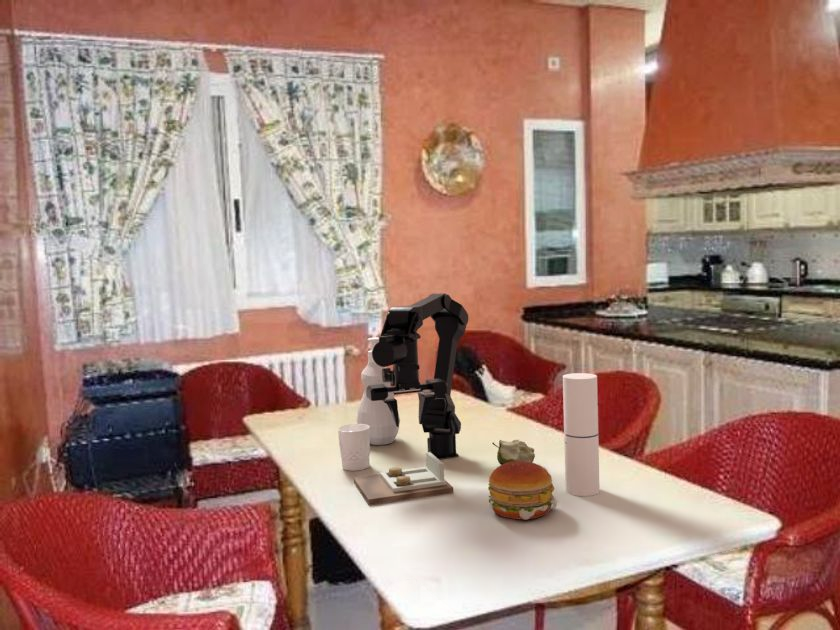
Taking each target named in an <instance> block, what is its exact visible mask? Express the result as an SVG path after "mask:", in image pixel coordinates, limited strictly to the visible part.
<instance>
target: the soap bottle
mask: <svg viewBox="0 0 840 630" xmlns="http://www.w3.org/2000/svg"><path fill="white" fill-rule="evenodd" d="M367 341H368V342H369V344H370V350H368V351H367V365H366V366H365V367H364V369H362V372H361V374H360V378H361V383H362V385H363V393H362V397H361V400H360V402H359V405H358V406H357V416H356V424H365V425H368V426H370V445H374V446H383V445H388V444H392V443H394V441H395V439H396V437H397V436H398V434H399V431H400V430H399V429H400V426H399V427H397V426H396V424H395V422H394V419H393V417H392V414H391V412H390V409H389V407H388V405H387V404H386V403H384V402H382V401H381V400H379V401H371V400H370V399H369V398H367V395H366V389H367V387H368V386H369V385H377V384H383V385H385V386H386V387H391V385H390V382H383V380H382V369H384V368H387V367H381V366H379V365H377V364H376V363H375V361H374V360H373V357H372V351H373V348H374V346H375V345H376V344H377V343H378V342H379V337H368V338H367ZM398 416H399V425H400V423H401V419H400V415H399V413H398Z"/></svg>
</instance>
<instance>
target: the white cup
mask: <svg viewBox="0 0 840 630" xmlns="http://www.w3.org/2000/svg"><path fill="white" fill-rule="evenodd" d="M337 433H338V441H339V450H340V451H339V452H340V458H341V466H342V469H343V470H345V471H351V472H352V471H353V472H355V471H362V470H366V469H367V468H369V467H370V454H371V451H370V449H371V444H370V426H368V425H365V424H358V423H352V424H351V423H349V424H345V425H341V426H339V427H338V429H337Z"/></svg>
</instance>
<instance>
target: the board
mask: <svg viewBox="0 0 840 630" xmlns="http://www.w3.org/2000/svg"><path fill="white" fill-rule="evenodd" d="M402 470H403V469H402V467H399V466H398V467H397V466H394V467H390V468H388V472H389V473H391V474H392V476H389V478H391V477H397V482H399V483H400V485H396V486H397V487H402V486H409V485H413V484H410V483H407V482H409V481H410V477H409V476H405V475H402V474H399V473H401V472H402ZM352 480H353V484H354V485H355V487H356V488H357V489H358V491H359V493H360V494H361V496H362V498H363V499H364V500H365V502H366V503H367V505H368V506H372V505H378V504H384V503H392V502H398V501H405V500H411V499H412V500H413V499H418V498H426V497H427V498H428V497H434V496H439V495H445V494H447V495H448V494H453V493H454V487H453V486H452V485H451V484H450V483H449V482H448V481H447V480H446V479H445V478H444V480H445V481H446V485H441V486H434V487H427V488H420V489H413V490H405V491H398V492H393V491H392V490H391V489H390V487H389V486H388V485H387V484H386V482H385V481H384V480H383V479H382V477H381V476H380V473H377V474H370V475H369V474H368V475H363V476H356V477H353V479H352Z"/></svg>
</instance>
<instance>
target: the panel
mask: <svg viewBox="0 0 840 630" xmlns="http://www.w3.org/2000/svg"><path fill="white" fill-rule="evenodd" d="M425 457H426V461H425V462H426V466H422V467H413V468H408V469H402V472H401V473H399V474H402V475H405V476H409V477H410V481H409V482H407V483H410V484H413V485H409V486H402V487H397V486H396V485H400V483H399V482H397V477H391V478H389V476H392V474H391V473H389V471H385V472H380V473H379V474H380V476H381V477H382V479H383V480H384V481H385V482H386V484H387V485H388V486H389V487H390V489H391V490H392V491H393V492H398V491H405V490H413V489H420V488H427V487H434V486H441V485H446V481H447V480H446V479H445V464H444V462H442V460H441V459H438V458H436V457H435V456H434V455H433V454H432V453H431V452H428V451H427V452H426V453H425ZM444 479H445V480H446V481H445V480H444Z"/></svg>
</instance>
